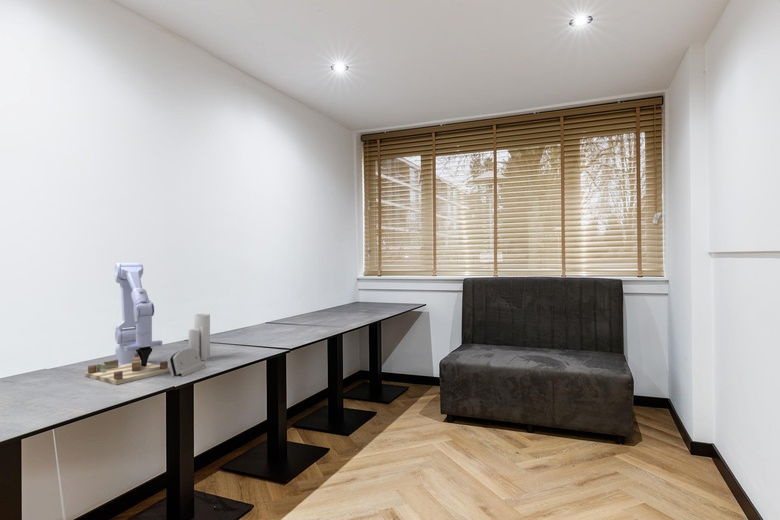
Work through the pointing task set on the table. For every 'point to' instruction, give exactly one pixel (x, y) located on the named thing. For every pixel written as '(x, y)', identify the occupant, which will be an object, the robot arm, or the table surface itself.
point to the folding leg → (135, 363)
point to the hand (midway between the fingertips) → (144, 366)
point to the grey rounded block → (185, 362)
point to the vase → (201, 335)
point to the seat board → (124, 371)
